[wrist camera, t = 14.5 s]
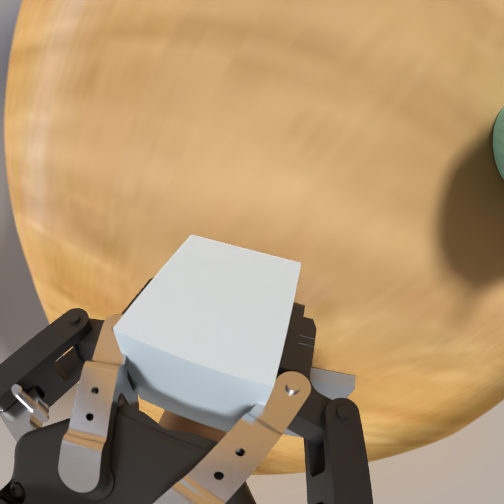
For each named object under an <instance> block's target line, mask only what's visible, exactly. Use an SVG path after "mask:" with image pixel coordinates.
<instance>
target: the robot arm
mask: <svg viewBox="0 0 504 504" xmlns="http://www.w3.org/2000/svg"><path fill="white" fill-rule="evenodd" d="M153 278H154V277H153ZM153 278H151V279H150V280H149V281H148V282H147V283H146V285H145V286H144V288H142V289H141V291H140V292H139V294H137V295H136V297H135V298H134V299H133V300H132V301H131V303H130V304H129V305H128V306H127V308H126V309H125V310H124V311H123V313H122V314H115V315H112V316H110V317H108V318H107V319H106V320H97V319H90V318H89V317H88V314H87V312H86V311H85V310H83V309H80V308H75V309H71V310H69V311H67V312H66V313H65V314H63V315H62V316H61V317H59V318H58V319H57V320H55V321H54V322H53V323H51V324H50V325H49V326H47V327H46V328H45V329H44V330H42V331H41V332H40V333H38V334H37V335H36V336H35V337H33V338H32V339H31V340H29V341H28V342H27V343H26V344H24V345H23V346H22V347H21V348H19V349H18V350H17V351H16V352H15V353H13V354H12V355H11V356H10V357H8V358H7V359H6V360H5V361H4V362H3V363H1V364H0V416H1V417H2V419H3V421H4V423H5V424H6V426H7V428H8V429H9V431H10V432H11V434H12V435H13V437H14V438H15V440H16V441H17V444H16V447H15V463H14V471H13V475H12V478H11V480H10V482H9V483H8V484H7V485H6V486H5V487H4V488H3V489H1V490H0V504H256V502H255V500H254V498H253V496H252V494H251V492H250V489H249V487H248V485H247V483H246V480H247V478H248V477H249V476H250V475H251V474H252V473H253V471H254V470H255V469H256V468H257V467H258V465H259V464H260V463H261V462H262V460H263V459H264V458H265V457H266V455H267V454H268V453H269V451H270V450H271V449H272V448H273V446H274V445H275V444H276V442H277V441H278V440H279V438H280V437H281V435H282V434H283V432H284V431H285V430H286V428H287V429H289V430H290V431H292V432H294V433H296V434H297V435H299V436H301V437H303V438H304V448H305V464H306V480H307V502H308V504H373V498H372V490H371V482H370V475H369V467H368V460H367V454H366V448H365V442H364V436H363V430H362V424H361V419H360V414H359V410H358V407H357V406H356V404H355V403H354V402H352V401H351V400H349V399H347V398H336V399H333V400H332V399H330V398H328V397H326V396H324V395H322V394H320V393H319V392H318V391H316V389H315V388H314V387H313V386H312V383H311V381H310V372H311V365H312V358H313V351H314V344H315V336H316V326H315V324H314V321H313V319H310V318H306V317H303V315H304V308H305V305H301V304H298V303H294V302H293V307H292V312H291V316H290V321H289V325H288V330H287V334H286V339H285V343H284V347H283V351H282V356H281V360H280V364H279V368H278V372H277V376H276V380H275V384H274V387H273V390H272V392H271V394H270V396H269V399H268V401H267V403H266V405H262V404H258V403H257V404H256V405H255V406H254V407H253V408H252V410H251V411H250V412H249V413H246V414H245V415H244V416H243V417H242V418H241V419H240V420H239V421H238V422H237V423H236V424H235V426H234V427H233V428H232V429H231V430H230V431H229V432H228V433H227V434H226V435H225V436H224V438H223V439H222V440H221V441H220V442H219V443H218V442H217V441H214V440H211V439H208V438H205V437H202V436H200V435H197V434H194V433H188V432H181V431H174V430H168V429H165V428H163V427H162V426H161V425H159V424H158V423H157V422H155V421H154V420H153V419H151V418H150V417H149V416H148V415H146V414H145V413H144V412H141V411H139V402H138V390H139V386H138V384H137V382H135V381H133V380H132V378H131V376H130V374H129V371H128V364H129V361H128V358H127V355H125V354H123V353H121V351H120V348H119V345H118V343H117V340H116V337H115V334H114V331H113V327H114V326H115V325H116V324H117V322H118V321H119V320H120V319H121V317H122V316H123V315H124V313H125V312H126V311H127V310H128V308H129V307H130V306H131V305H132V304H133V302H134V301H135V300H136V299H137V297H138V296H139V295H140V294H141V292H142V291H143V290H144V289H145V288H146V286H147V285H148V284H149V283H150V282H151V280H152V279H153ZM72 346H73V348H72V349H71V350H70V351H69V352H67V353H66V354H65V355H64V356H63V357H61V358H60V359H59V360H58V361H57V362H55V361H56V360H57V359H58V358H59V357H60V356H61V355H63V354H64V353H65V352H66V351H67V350H69V349H70V348H71V347H72ZM78 381H79V384H78V388H77V392H76V396H75V400H74V405H73V409H72V413H71V418H69V419H66V420H63V421H60V422H57V423H54V424H51V425H48V426H45V427H42V424H43V422H47V421H48V420H49V415H48V412H49V407H50V406H52V405H53V404H54V403H55V402H56V401H57V400H58V399H59V398H60V397H61V396H62V395H64V394H65V393H66V392H67V391H68V390H69V389H70V388H71V387H72V386H74V385H75V384H76V383H77V382H78Z"/></svg>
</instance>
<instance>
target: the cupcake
mask: <svg viewBox="0 0 504 504" xmlns="http://www.w3.org/2000/svg"><path fill="white" fill-rule="evenodd" d="M493 153H494V158H495V162H496V165H497V168H498V170H499V173H500V174H501V176H502V178H503V179H504V107H503V108H502V110H501V111H500V113H499V115H498V117H497V119H496V122H495V126H494V131H493Z"/></svg>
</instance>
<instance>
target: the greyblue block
mask: <svg viewBox="0 0 504 504" xmlns="http://www.w3.org/2000/svg"><path fill="white" fill-rule="evenodd" d="M300 268H301V263H300V262H296V261H292V260H288V259H284V258H281V257H277V256H273V255H269V254H265V253H261V252H257V251H254V250H250V249H246V248H242V247H238V246H234V245H230V244H227V243H223V242H219V241H215V240H211V239H207V238H203V237H200V236H196V235H192V234H191V235H190V236H189V238H188V239H187V240H186V241H185V242H184V243H183V244H182V245H181V247H180V248H179V249H178V250H177V251H176V252H175V253H174V255H173V256H172V257H171V258H170V259H169V260H168V262H167V263H166V264H165V265H164V266H163V267H162V269H161V270H160V271H159V272H158V273H157V274H156V276H155V277H154V278H153V279H152V280H151V282H150V283H149V284H148V285H147V286H146V288H145V289H144V290H143V291H142V292H141V294H140V295H139V296H138V297H137V299H136V300H135V301H134V302H133V304H132V305H131V306H130V307H129V308H128V310H127V311H126V312H125V313H124V315H123V316H122V317H121V319H120V320H119V321H118V322H117V324H116V325H115V326H114V327H113V331H114V334H115V337H116V340H117V343H118V345H119V348H120V351H121V353H123V354H125V355H127V358H128V361H129V364H128V371H129V374H130V376H131V378H132V380H133V381H135V382H137V384H138V386H139V390H138V394H139V397H140V398H141V399H143V400H145V401H147V402H149V403H151V404H154V405H156V406H158V407H161V408H163V409H165V410H168V411H170V412H172V413H175V414H177V415H180V416H183V417H185V418H188V419H190V420H193V421H196V422H199V423H202V424H204V425H207V426H210V427H213V428H216V429H220V430H223V431H226V432H229V431H230V430H231V429H232V428H233V427H234V426H235V424H236V423H237V422H238V421H239V420H240V419H241V418H242V417H243V416H244V415H245V414H246V413H249V412H250V411H251V410H252V408H253V407H254V406H255V405H256V404H257V403H258V404H262V405H266V403H267V401H268V399H269V396H270V394H271V392H272V390H273V387H274V384H275V380H276V376H277V372H278V368H279V364H280V360H281V356H282V351H283V347H284V343H285V339H286V334H287V330H288V325H289V321H290V316H291V312H292V307H293V302H294V298H295V293H296V288H297V283H298V278H299V273H300Z"/></svg>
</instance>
